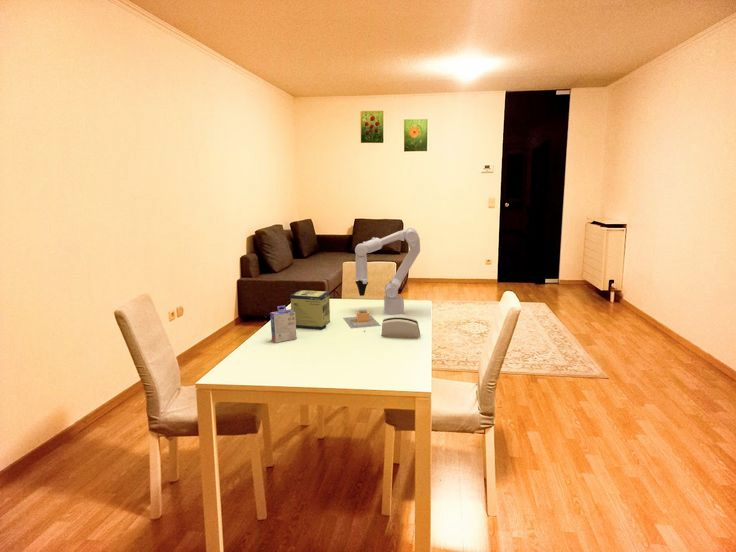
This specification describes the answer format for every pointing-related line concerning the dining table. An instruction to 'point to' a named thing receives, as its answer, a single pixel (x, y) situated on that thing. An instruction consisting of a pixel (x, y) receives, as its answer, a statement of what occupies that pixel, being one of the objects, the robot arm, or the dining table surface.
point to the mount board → (356, 318)
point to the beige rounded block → (400, 327)
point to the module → (362, 316)
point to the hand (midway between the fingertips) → (361, 295)
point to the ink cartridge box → (283, 324)
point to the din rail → (358, 324)
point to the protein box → (311, 309)
